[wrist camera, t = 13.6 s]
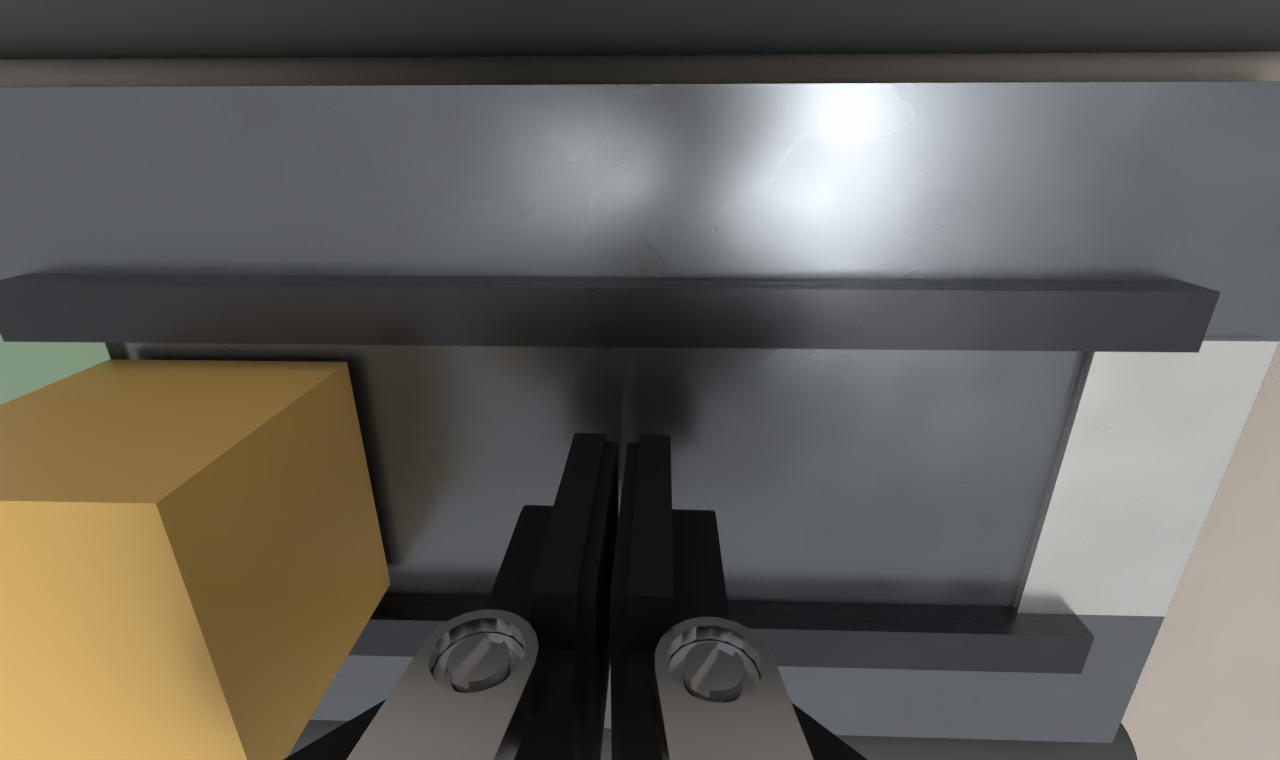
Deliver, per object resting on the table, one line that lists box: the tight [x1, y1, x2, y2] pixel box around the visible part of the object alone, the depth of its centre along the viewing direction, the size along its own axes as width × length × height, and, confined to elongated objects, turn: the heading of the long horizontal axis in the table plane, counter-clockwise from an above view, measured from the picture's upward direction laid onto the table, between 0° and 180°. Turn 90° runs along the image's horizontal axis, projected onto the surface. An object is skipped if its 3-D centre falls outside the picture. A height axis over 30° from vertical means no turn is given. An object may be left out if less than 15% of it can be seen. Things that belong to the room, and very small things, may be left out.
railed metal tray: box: [0, 81, 1280, 743], centre depth 13 cm, size 24×14×3 cm, turn 90°
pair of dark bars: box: [0, 0, 1280, 760], centre depth 13 cm, size 26×20×2 cm
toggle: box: [0, 359, 390, 760], centre depth 10 cm, size 4×5×4 cm
